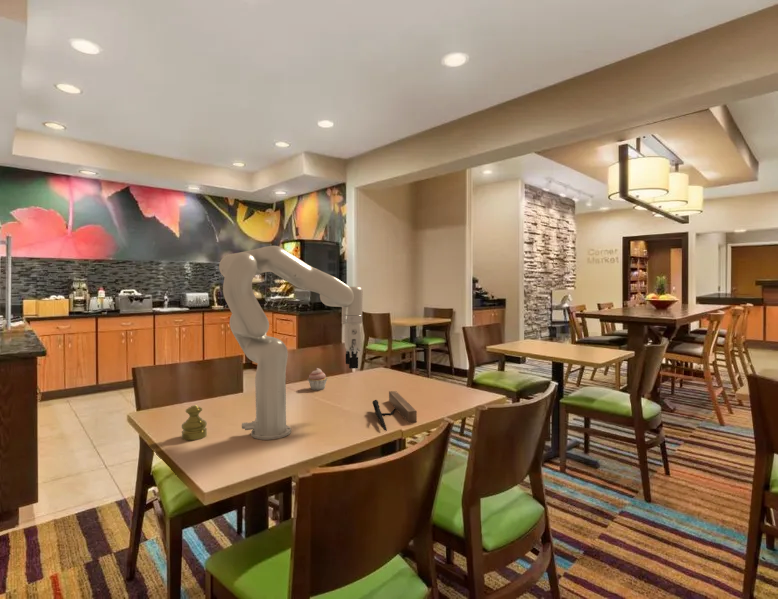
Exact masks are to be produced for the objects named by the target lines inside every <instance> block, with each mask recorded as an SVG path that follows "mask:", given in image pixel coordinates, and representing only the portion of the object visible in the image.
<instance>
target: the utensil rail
mask: <svg viewBox="0 0 778 599" xmlns="http://www.w3.org/2000/svg"><path fill="white" fill-rule="evenodd" d="M388 402H389V403H390V402H391V403H392V404H393V405H392V404H391V403H390V404H391V405H392V406H393V407H394V409H395V408H397V410H398V411H399V412H400V413H399V412H398V413H399V414H400V416H402V417H403V419H404V420H405V419H406V420H405V421H406V422H407V423H408V424H409V423H410V422H413V423H417V422H418V421H417V419H418V418H417V417H418V416H417V414H418V412H417V410H416V409H415V408H414V407H413V406H412V405H411V404H410V403H409V402H408V401H407V400H406V399H405V398H404V397H403V396H402V395H401V394H400V393H399V392H397V391H396V390H391V391H388ZM397 410H396V411H397Z"/></svg>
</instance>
